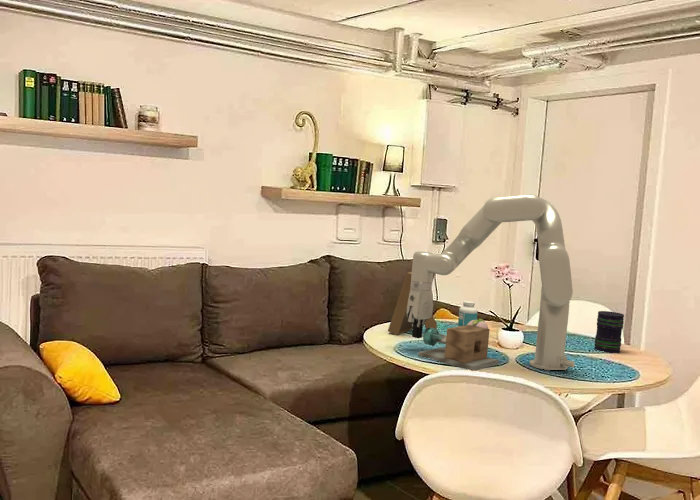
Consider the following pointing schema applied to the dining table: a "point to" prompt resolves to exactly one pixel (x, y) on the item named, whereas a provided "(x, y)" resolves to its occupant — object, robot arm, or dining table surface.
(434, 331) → the shaft
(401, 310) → the photo frame
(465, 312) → the pill bottle
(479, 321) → the decorative fruit
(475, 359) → the bearing block
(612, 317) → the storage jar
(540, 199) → the robot arm
